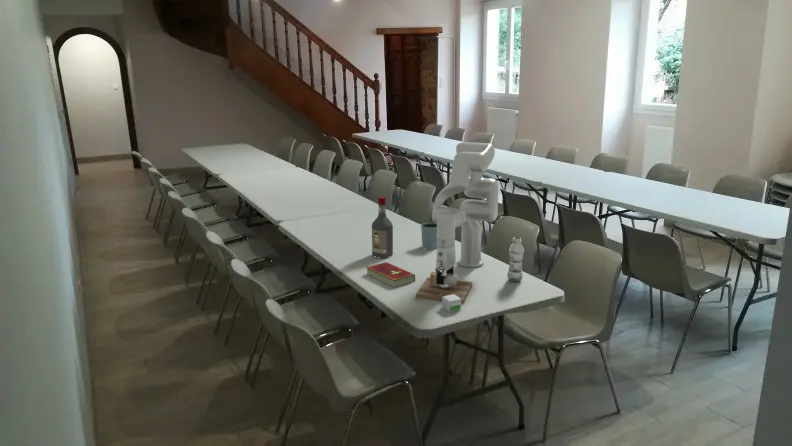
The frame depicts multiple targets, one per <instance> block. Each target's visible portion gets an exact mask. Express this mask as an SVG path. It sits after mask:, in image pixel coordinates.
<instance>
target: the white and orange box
mask: <svg viewBox="0 0 792 446" xmlns="http://www.w3.org/2000/svg"><path fill="white" fill-rule="evenodd" d="M436 276H437V275H436V271H431V273H430V284H437V283H436ZM443 276H444V285H440V288H441V289H449V288H450V285H454V286H456V285H457V280H458V274H457V273H454V274H448V273H446V272H444V274H443Z"/></svg>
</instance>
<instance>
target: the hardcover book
mask: <svg viewBox="0 0 792 446" xmlns="http://www.w3.org/2000/svg"><path fill="white" fill-rule="evenodd" d="M365 268H366V275H368V274H369V275H368V276H370V275H371V276H370V277H372V276H373V277H372V278H374V277H375V278H374V279H376V278H377V280H378V279H379V280H378V281H380V280H381V282H382V281H383V283H384V282H385V284H386V285H389V286H391V287H393V288H396V286H397V287H399V286H403V285H406V283H407V284H410V283H412V282H413V283H414V282H416V274H415V273H412V272H410V271H408V270H406V269H404V268H401V267H398V266H397V265H394V264H392V263H389V262H387V261H385V262H379V263H376V264H374V265H369V266H366V267H365Z"/></svg>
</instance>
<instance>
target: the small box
mask: <svg viewBox="0 0 792 446" xmlns="http://www.w3.org/2000/svg"><path fill="white" fill-rule="evenodd" d="M441 304H442V305H441V306H442V309H443V310H446V311H447V312H448V313H451V312H455V311H461V309H462V304H461V298H459V297H458V296H456V295H455V294H452V295H447V296H442V301H441Z"/></svg>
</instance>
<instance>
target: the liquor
mask: <svg viewBox="0 0 792 446" xmlns="http://www.w3.org/2000/svg"><path fill="white" fill-rule="evenodd" d="M386 199H387V198H386V196H379V197H377V200H378V214H377V216H376V218H375V219H374V221H373V222H372V224H371V254H372V257H374V256H376V257H375V258H377V257H380V258H379V259H381V258H384V259H387V257H388V258H390V257H393V255H394V243H393V242H394V233H393V232H394V228H393V227H394V226H393V222H392V221H391V220H390V219H389V217H387V213H386V211H387V210H386V204H387V203H386V202H387V201H386ZM389 256H390V257H389Z"/></svg>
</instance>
